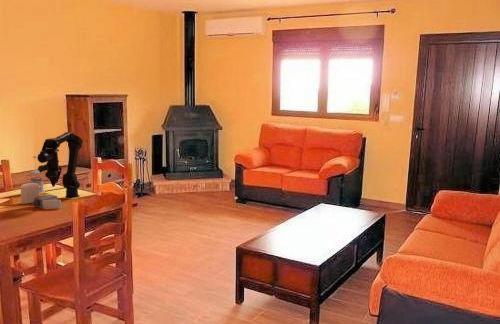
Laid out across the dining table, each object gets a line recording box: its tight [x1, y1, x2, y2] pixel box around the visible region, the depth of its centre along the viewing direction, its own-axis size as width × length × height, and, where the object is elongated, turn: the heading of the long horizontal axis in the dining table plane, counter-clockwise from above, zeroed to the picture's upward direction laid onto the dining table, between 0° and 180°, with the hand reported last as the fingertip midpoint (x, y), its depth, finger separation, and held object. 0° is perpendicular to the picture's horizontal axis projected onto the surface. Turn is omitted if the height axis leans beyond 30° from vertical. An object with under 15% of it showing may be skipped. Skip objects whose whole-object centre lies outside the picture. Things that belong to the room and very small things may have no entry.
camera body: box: [32, 194, 59, 210], centre depth 259 cm, size 12×8×6 cm
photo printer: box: [20, 182, 41, 205], centre depth 265 cm, size 10×4×12 cm, turn 123°
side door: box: [42, 199, 62, 210], centre depth 253 cm, size 10×2×5 cm, turn 99°
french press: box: [25, 155, 46, 195], centre depth 289 cm, size 10×12×25 cm
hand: (55, 184), depth 262 cm, fingers open, 9 cm apart
